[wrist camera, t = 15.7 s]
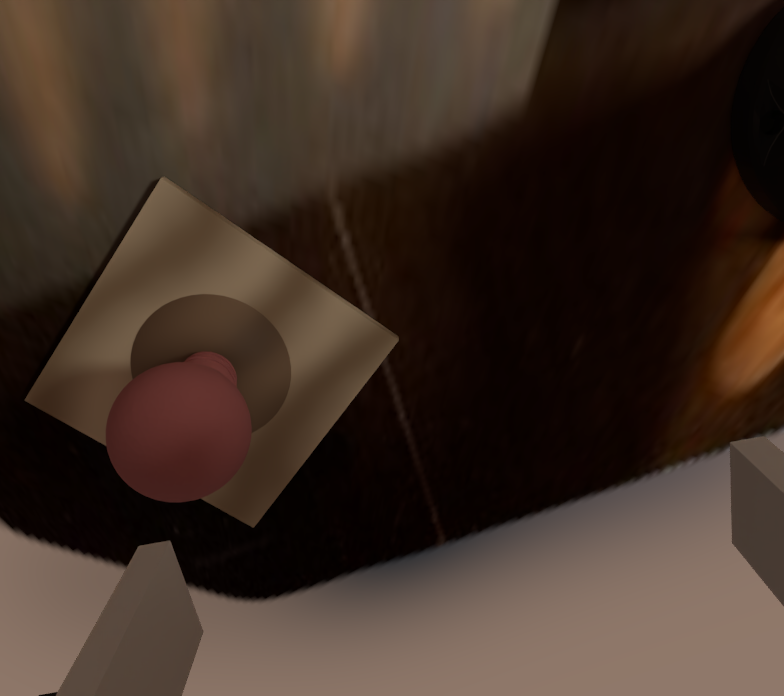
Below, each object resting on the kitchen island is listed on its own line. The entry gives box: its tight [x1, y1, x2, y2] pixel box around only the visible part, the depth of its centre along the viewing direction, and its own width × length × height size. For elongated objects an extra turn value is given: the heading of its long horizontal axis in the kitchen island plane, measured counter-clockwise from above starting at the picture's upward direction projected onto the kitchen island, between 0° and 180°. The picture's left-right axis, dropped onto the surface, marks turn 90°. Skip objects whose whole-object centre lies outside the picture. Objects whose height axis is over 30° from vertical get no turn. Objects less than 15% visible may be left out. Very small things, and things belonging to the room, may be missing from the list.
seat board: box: [25, 177, 399, 528], centre depth 42 cm, size 17×17×1 cm
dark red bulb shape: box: [106, 351, 252, 502], centre depth 36 cm, size 7×7×12 cm
